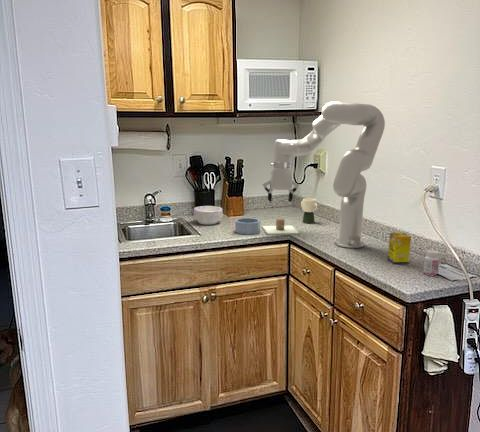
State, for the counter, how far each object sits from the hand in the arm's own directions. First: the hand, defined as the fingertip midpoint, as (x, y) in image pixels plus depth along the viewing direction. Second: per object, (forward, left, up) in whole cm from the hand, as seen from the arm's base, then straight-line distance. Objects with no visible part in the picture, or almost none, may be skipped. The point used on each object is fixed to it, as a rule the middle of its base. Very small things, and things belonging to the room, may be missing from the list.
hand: (280, 201), depth 217 cm
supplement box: (-51, -36, -15) cm, 65 cm away
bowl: (0, +16, -15) cm, 22 cm away
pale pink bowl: (+23, +34, -15) cm, 43 cm away
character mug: (+18, -19, -15) cm, 30 cm away
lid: (0, 0, -15) cm, 15 cm away
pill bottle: (-66, -41, -15) cm, 80 cm away
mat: (0, 0, -15) cm, 15 cm away
